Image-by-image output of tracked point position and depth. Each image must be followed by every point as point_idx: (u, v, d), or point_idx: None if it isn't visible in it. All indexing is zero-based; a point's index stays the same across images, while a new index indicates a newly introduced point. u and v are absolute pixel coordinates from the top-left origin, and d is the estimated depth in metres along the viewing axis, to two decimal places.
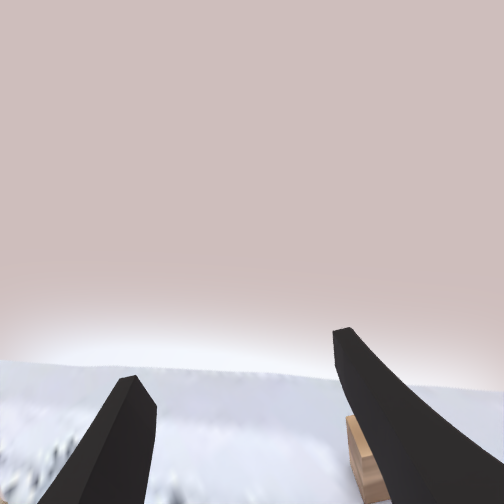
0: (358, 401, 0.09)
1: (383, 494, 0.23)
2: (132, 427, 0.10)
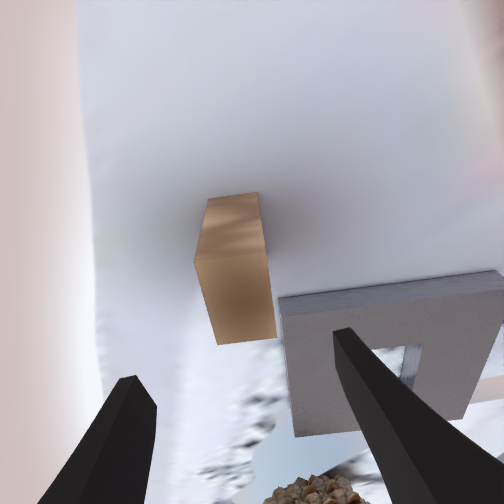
0: (358, 401, 0.09)
1: None
2: (132, 427, 0.10)
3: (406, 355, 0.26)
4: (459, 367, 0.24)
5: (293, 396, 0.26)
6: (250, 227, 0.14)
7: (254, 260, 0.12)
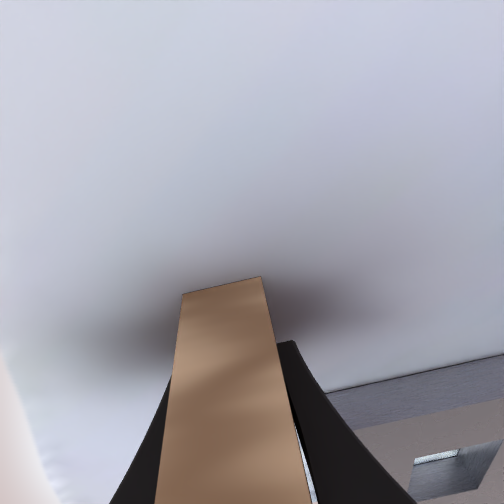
0: (293, 415, 0.09)
1: None
2: None
3: None
4: None
5: None
6: (262, 392, 0.07)
7: None
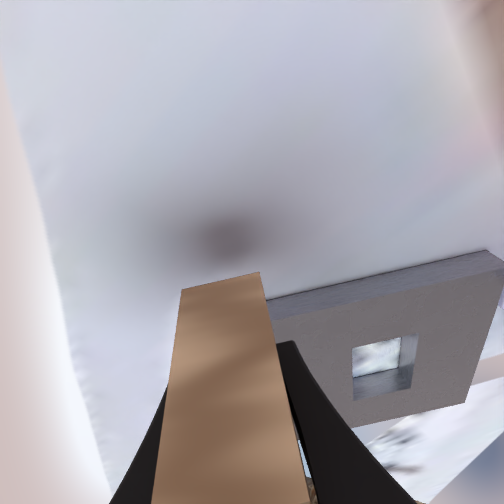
0: (293, 415, 0.09)
1: None
2: None
3: (402, 345, 0.25)
4: (457, 352, 0.23)
5: None
6: (260, 384, 0.07)
7: None
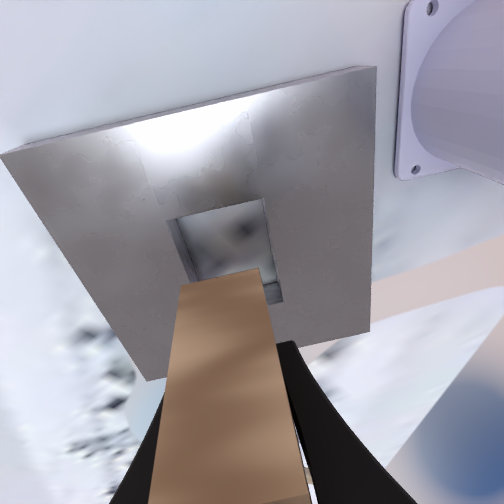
0: (293, 415, 0.09)
1: None
2: None
3: (270, 240, 0.18)
4: (336, 241, 0.16)
5: (107, 313, 0.17)
6: (258, 378, 0.07)
7: None
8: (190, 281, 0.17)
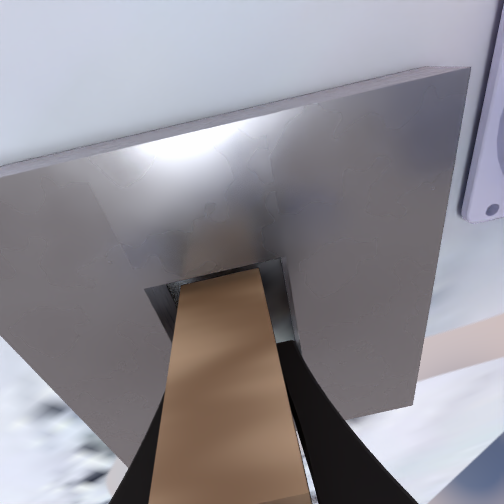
0: (294, 415, 0.09)
1: None
2: None
3: (288, 298, 0.14)
4: (381, 307, 0.12)
5: (70, 399, 0.13)
6: (259, 377, 0.07)
7: None
8: None
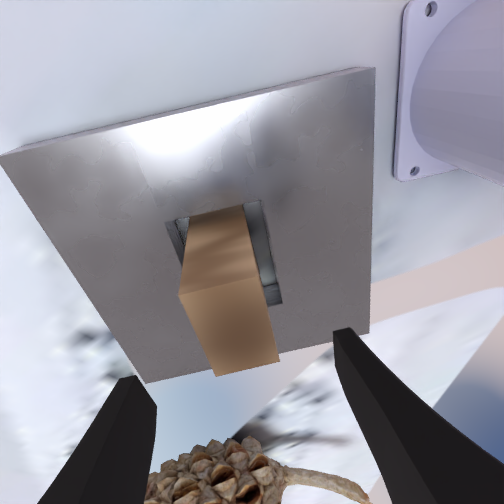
0: (358, 401, 0.09)
1: (256, 261, 0.18)
2: (132, 427, 0.10)
3: (269, 242, 0.18)
4: (335, 242, 0.16)
5: (105, 315, 0.17)
6: (237, 245, 0.13)
7: (246, 286, 0.11)
8: None
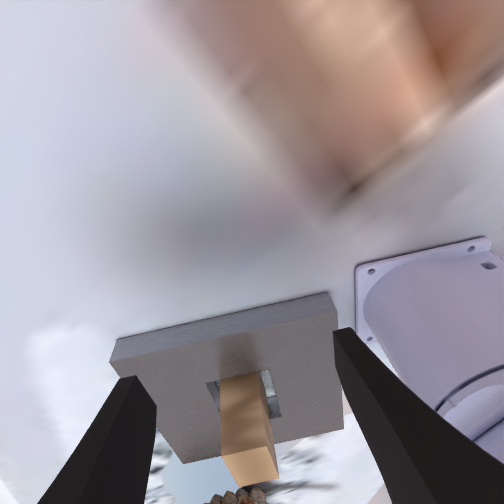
0: (358, 401, 0.09)
1: (263, 390, 0.26)
2: (132, 427, 0.10)
3: None
4: (316, 385, 0.25)
5: (161, 429, 0.26)
6: (253, 410, 0.21)
7: (260, 450, 0.19)
8: (218, 409, 0.25)
